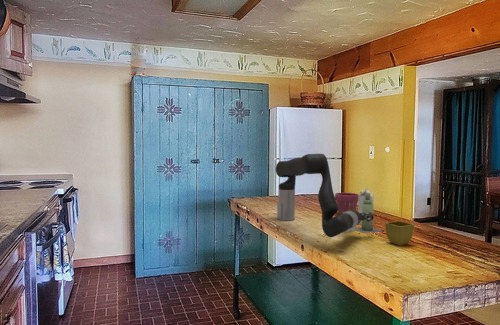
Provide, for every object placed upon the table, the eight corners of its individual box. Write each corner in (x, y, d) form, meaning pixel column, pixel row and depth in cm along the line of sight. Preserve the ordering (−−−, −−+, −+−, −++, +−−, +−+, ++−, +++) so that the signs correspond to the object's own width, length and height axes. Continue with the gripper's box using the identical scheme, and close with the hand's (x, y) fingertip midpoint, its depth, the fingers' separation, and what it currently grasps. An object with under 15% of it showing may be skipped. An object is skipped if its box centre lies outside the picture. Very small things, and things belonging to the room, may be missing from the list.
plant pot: (356, 212, 235) (357, 192, 234) (361, 217, 221) (361, 195, 220) (333, 212, 236) (333, 192, 236) (336, 216, 222) (336, 195, 222)
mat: (363, 233, 183) (363, 232, 183) (351, 228, 193) (351, 227, 193) (383, 232, 186) (383, 231, 186) (370, 227, 196) (370, 226, 196)
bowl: (334, 233, 182) (334, 227, 182) (321, 227, 196) (321, 221, 196) (361, 231, 186) (361, 225, 186) (346, 225, 200) (346, 219, 200)
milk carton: (372, 222, 209) (373, 187, 208) (371, 224, 202) (372, 189, 201) (359, 220, 212) (360, 187, 211) (357, 223, 205) (358, 188, 204)
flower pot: (399, 247, 159) (400, 226, 159) (383, 242, 167) (384, 222, 167) (414, 244, 163) (414, 224, 163) (397, 240, 171) (398, 220, 171)
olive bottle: (365, 231, 186) (365, 194, 185) (359, 228, 191) (359, 192, 190) (375, 230, 187) (376, 193, 186) (368, 227, 193) (369, 192, 192)
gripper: (365, 212, 164) (376, 207, 178) (334, 209, 173) (347, 204, 186) (365, 229, 165) (376, 223, 178) (334, 225, 173) (347, 219, 186)
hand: (361, 213), depth 182 cm, fingers open, 8 cm apart
